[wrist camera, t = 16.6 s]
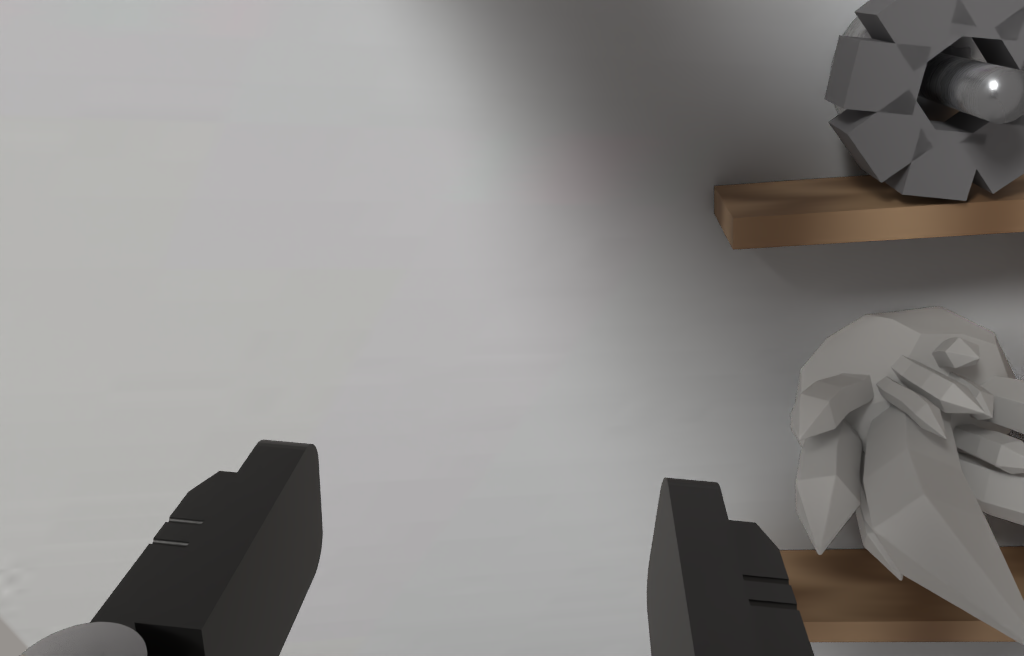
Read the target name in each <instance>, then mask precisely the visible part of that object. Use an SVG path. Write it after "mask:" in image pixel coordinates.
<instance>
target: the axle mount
mask: <svg viewBox="0 0 1024 656" xmlns="http://www.w3.org/2000/svg"><path fill="white" fill-rule="evenodd" d="M843 36H851V37H862V38H871V36H870V35H869V33H868V31H867V30H866V28H865V27H864V25H863V24H862V22H861V21H860V19H859V18H858V16H857V18H856V19H855V20H854V21H853V22H852V23H851V24H850V26H849V27H848V29H847V30H846V31H845V33H844V35H843ZM835 52H836V51H835ZM834 56H835V54H834ZM833 61H834V57H833ZM833 61H832V65H833ZM831 69H832V66H831ZM830 74H831V72H830ZM916 101H917V102H918V104H919V105H920V107H921V109H922V110H923V112H924V113H925V115H926V116H927V118H928V119H929V120H932V121H943V122H945V121H946V120H947V119H949V118H950V117H952V116H953V115H955V114H956V113H957V112H959V111H961V112H964V113H967V114H970V115H972V116H975V117H978V118H981V119H983V120H986V121H989V122H992V123H996V124H1004V123H1008V122H1011V121H1014V120H1016V119H1017V118H1019V117H1020V116H1022V115H1023V114H1024V72H1023V71H1021V70H1018V69H1013V68H1008V67H1004V66H999V65H995V64H990V63H987V62H986V60H985V59H984V57H983V55H982V54H981V52H980V50H979V49H978V47H977V46H976V44H975V42H974V41H973V39H972V37H966V36H962V37H961V38H959V39H958V40H957V41H955V42H954V43H953V44H951V45H950V46H948V47H947V48H946V49H944V50H943V51H942V52H940V53H939V54H937V55H936V56H935V57H933V58H932V59H931V60H929V61H928V62H927V64H926V68H925V72H924V75H923V79H922V82H921V86H920V90H919V93H918V97H917V100H916ZM834 105H835V104H834ZM835 108H836V110H837V112H838V114H841V113H842V112H843V111H845V110H846V109H843V108H841V107H839V106H837V105H835Z"/></svg>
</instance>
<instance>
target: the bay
mask: <svg viewBox="0 0 1024 656" xmlns="http://www.w3.org/2000/svg"><path fill="white" fill-rule="evenodd" d="M714 214H715V216H716V218H717V220H718V222H719V224H720V226H721V228H722V229H723V231H724V233H725V235H726V237H727V239H728V241H729V243H730V245H731V247H732V249H749V248H766V247H782V246H799V245H815V244H832V243H848V242H865V241H881V240H897V239H914V238H930V237H947V236H963V235H980V234H996V233H1013V232H1024V174H1023V175H1021V176H1020V177H1018V178H1017V179H1015V180H1013V181H1012V182H1010V183H1009V184H1007V185H1006V186H1004V187H1003V188H1001V189H1000V190H998V191H997V192H995V193H994V194H992V193H990V192H989V191H987V190H985V189H983V188H981V187H979V186H977V185H976V184H974V183H972V184H971V187H970V191H969V194H968V197H967V200H966V201H962V200H952V199H942V198H932V197H922V196H912V195H902V194H901V193H899V192H898V191H896V190H895V189H894V188H892V187H891V186H889V185H888V184H886V183H885V182H884V181H883V182H882V183H881V182H879V181H878V180H877V179H875V178H874V177H872V176H871V175H862V176H848V177H834V178H820V179H806V180H791V181H777V182H763V183H749V184H734V185H720V186H714ZM999 548H1000V550H1001V552H1002V554H1003V557H1004V559H1005V561H1006V563H1007V565H1008V567H1009V570H1010V572H1011V574H1012V576H1013V578H1014V581H1015V583H1016V585H1017V587H1018V589H1019V591H1020V594H1021V596H1022V598H1023V600H1024V546H1018V547H999ZM780 553H781V556H782V559H783V562H784V565H785V568H786V572H787V575H788V578H789V585H791V587H792V590H793V593H794V596H795V599H796V602H797V610H799V611H800V614H801V617H802V620H803V623H804V626H805V629H806V632H807V635H808V638H809V641H810V642H1017V641H1015V640H1014V639H1012V638H1010V637H1008V636H1007V635H1005V634H1003V633H1002V632H1000V631H998V630H997V629H995V628H993V627H991V626H990V625H988V624H986V623H985V622H983V621H981V620H979V619H978V618H976V617H974V616H973V615H971V614H969V613H967V612H966V611H964V610H962V609H961V608H959V607H957V606H955V605H954V604H952V603H950V602H948V601H947V600H945V599H943V598H942V597H940V596H938V595H936V594H935V593H933V592H931V591H930V590H928V589H926V588H924V587H923V586H921V585H919V584H918V583H916V582H914V581H912V580H911V579H909V578H907V577H906V576H904V575H903V579H902V580H899V579H898V578H897V577H896V576H895V575H894V574H893V573H892V572H890V571H889V570H888V569H887V568H886V567H885V566H884V565H883V564H882V563H881V562H880V561H879V560H878V559H877V558H876V557H874V556H873V555H872V554H871V553H870V552H869V551H868V550H867V549H835V550H825V551H824V552H823V553H822V554H821V555H819V554H818V553H817V552H816V550H780Z"/></svg>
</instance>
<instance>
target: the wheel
mask: <svg viewBox="0 0 1024 656" xmlns="http://www.w3.org/2000/svg"><path fill="white" fill-rule="evenodd" d="M855 13H856V15H857V16H858V18H859V19H860V21H861V22H862V24H863V25H864V27H865V28H866V30H867V31H868V33H869V35H870V36H871V38H862V37H851V36H840V35H839V39H838V44H837V48H836V52H835V56H834V61H833V65H832V69H831V74H830V78H829V82H828V87H827V91H826V95H825V99H826V100H828V101H829V102H831V103H833V104H835V105H837V106H839V107H841V108H843V109H846V110H845V111H843V112H842V113H841V114H839V115H838V116H836V117H835V118H834V119H832V120H831V121H830V122H829V124H830V125H831V126H832V128H833V129H834V131H835V132H836V134H837V135H838V136H839V138H840V139H841V141H842V142H843V144H844V145H845V147H846V148H847V149H848V151H849V152H850V154H851V155H852V157H853V158H854V159H855V161H856V162H857V164H858V165H859V167H860V168H861V169H863V170H864V171H865V172H867V173H868V174H870V175H871V176H872V177H874V178H875V179H877V180H878V181H879V182H881V183H882V182H883V181H884V182H885V183H886V184H888V185H889V186H891V187H892V188H894V189H895V190H896V191H898V192H899V193H901V194H902V195H912V196H922V197H932V198H942V199H952V200H962V201H966V200H967V197H968V194H969V191H970V187H971V184H972V183H974V184H976V185H977V186H979V187H981V188H983V189H985V190H987V191H989V192H990V193H992V194H994V193H995V192H997V191H998V190H1000V189H1001V188H1003V187H1004V186H1006V185H1007V184H1009V183H1010V182H1012V181H1013V180H1015V179H1017V178H1018V177H1020V176H1021V175H1023V174H1024V114H1023V115H1022V116H1020V117H1019V118H1017V119H1016V120H1014V121H1011V122H1008V123H1004V124H996V123H992V122H989V121H986V120H983V119H981V118H978V117H975V116H972V115H970V114H967V113H964V112H961V111H959V112H957V113H956V114H955V115H953V116H952V117H950V118H949V119H947V120H946V121H945V122H943V121H932V120H929V119H928V118H927V116H926V115H925V113H924V112H923V110H922V109H921V107H920V105H919V104H918V102H917V101H916V100H917V97H918V93H919V90H920V86H921V82H922V79H923V75H924V72H925V68H926V64H927V62H928V61H929V60H931V59H932V58H933V57H935V56H936V55H937V54H939V53H940V52H942V51H943V50H944V49H946V48H947V47H948V46H950V45H951V44H953V43H954V42H955V41H957V40H958V39H959V38H961V37H962V36H966V37H972V39H973V41H974V42H975V44H976V46H977V47H978V49H979V50H980V52H981V54H982V55H983V57H984V59H985V60H986V62H987V63H990V64H995V65H999V66H1004V67H1008V68H1013V69H1018V70H1021V71H1023V72H1024V0H869V1H868V2H867V3H866V4H864V5H863V6H862V7H860V8H859V9H858V10H857V11H855Z"/></svg>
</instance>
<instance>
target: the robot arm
mask: <svg viewBox="0 0 1024 656" xmlns="http://www.w3.org/2000/svg"><path fill="white" fill-rule="evenodd" d="M322 535H323V530H322V512H321V494H320V477H319V460H318V453H317V449H316V447H315V445H313V444H305V443H294V442H283V441H272V440H261V441H260V442H258V443H257V445H256V446H255V447H254V449H253V450H252V452H251V453H250V455H249V456H248V458H247V459H246V461H245V462H244V463H243V465H242V466H241V468H240V469H239V471H238V472H237V473H236V472H225V471H219V472H217V473H216V474H214V475H213V476H211V477H210V478H208V479H207V480H205V481H204V482H202V483H201V484H199V485H198V486H196V487H195V488H193V489H192V490H190V491H189V492H188V493H187V495H186V496H185V497H184V499H183V500H182V501H181V503H180V504H179V505H178V507H177V508H176V509H175V510H174V512H173V513H172V514H171V516H170V519H169V522H165V524H164V525H163V526H162V528H161V529H160V530H159V532H158V533H157V534H156V536H155V537H154V540H153V544H149V545H148V546H147V548H146V549H145V550H144V552H143V553H142V554H141V556H140V557H139V558H138V560H137V561H136V562H135V563H134V565H133V566H132V567H131V569H130V570H129V571H128V573H127V574H126V575H125V577H124V578H123V579H122V581H121V582H120V583H119V585H118V586H117V587H116V589H115V590H114V591H113V593H112V594H111V595H110V597H109V598H108V599H107V601H106V602H105V603H104V605H103V606H102V607H101V609H100V610H99V611H98V613H97V614H96V615H95V617H94V618H93V619H92V620H91V622H90V623H85V624H80V625H75V626H72V627H69V628H66V629H63V630H60V631H58V632H55V633H53V634H51V635H49V636H47V637H45V638H43V639H42V640H40V641H38V642H37V643H35V644H34V645H32V646H31V647H29V648H28V649H27V650H26V651H24V652H23V653H22V654H21V655H20V656H279V654H280V652H281V650H282V648H283V645H284V643H285V641H286V639H287V636H288V634H289V632H290V630H291V627H292V625H293V623H294V621H295V618H296V616H297V614H298V612H299V609H300V607H301V605H302V603H303V600H304V598H305V596H306V594H307V591H308V589H309V587H310V585H311V582H312V580H313V578H314V576H315V573H316V570H317V567H318V563H319V559H320V554H321V547H322ZM647 612H648V623H649V633H650V644H651V655H652V656H814V654H813V651H812V648H811V645H810V641H809V638H808V635H807V632H806V629H805V626H804V623H803V620H802V617H801V614H800V611H799V610H797V602H796V599H795V596H794V593H793V590H792V587H791V585H789V578H788V575H787V572H786V568H785V565H784V562H783V559H782V556H781V553H780V550H779V549H778V548H777V546H776V545H775V544H774V543H773V542H772V541H771V540H770V539H769V537H768V536H767V535H766V534H765V533H764V532H763V531H762V530H761V528H760V527H759V526H758V525H757V524H756V523H753V522H742V521H732V520H728V516H727V512H726V508H725V505H724V501H723V497H722V493H721V489H720V486H719V484H718V483H717V482H707V481H696V480H685V479H674V478H664V479H663V482H662V486H661V490H660V497H659V503H658V509H657V516H656V522H655V528H654V535H653V541H652V547H651V554H650V560H649V568H648V579H647Z"/></svg>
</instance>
